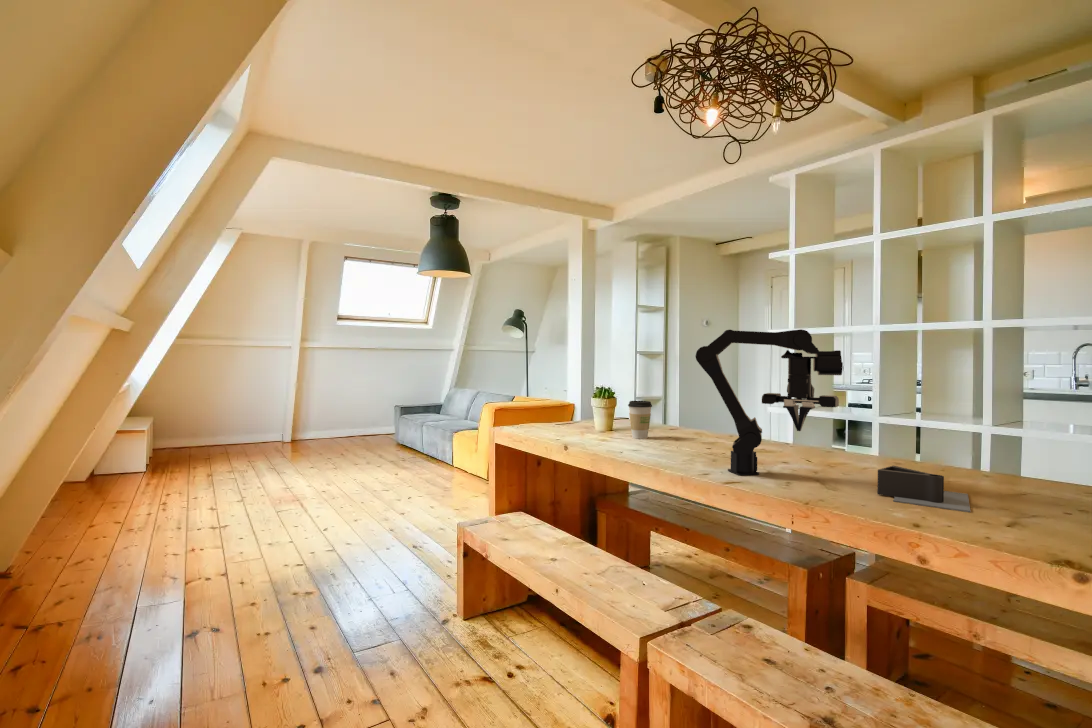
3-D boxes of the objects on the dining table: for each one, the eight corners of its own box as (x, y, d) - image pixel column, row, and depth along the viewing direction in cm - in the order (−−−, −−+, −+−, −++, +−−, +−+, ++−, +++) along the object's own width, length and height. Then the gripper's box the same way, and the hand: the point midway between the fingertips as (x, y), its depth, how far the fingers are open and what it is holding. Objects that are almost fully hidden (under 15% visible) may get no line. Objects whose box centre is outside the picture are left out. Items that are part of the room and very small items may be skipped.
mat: (893, 501, 123) (893, 500, 123) (899, 486, 137) (899, 485, 137) (970, 512, 114) (970, 511, 114) (967, 495, 129) (967, 493, 129)
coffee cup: (654, 439, 212) (654, 402, 212) (629, 439, 212) (629, 402, 212) (649, 436, 222) (649, 400, 221) (626, 435, 222) (626, 400, 222)
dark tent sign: (893, 465, 133) (950, 474, 123) (893, 489, 133) (950, 499, 123) (877, 469, 128) (935, 479, 118) (876, 494, 128) (935, 505, 118)
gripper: (842, 374, 147) (841, 430, 147) (771, 373, 158) (771, 425, 159) (835, 376, 138) (834, 435, 138) (761, 374, 150) (760, 429, 150)
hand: (798, 430), depth 147 cm, fingers closed
